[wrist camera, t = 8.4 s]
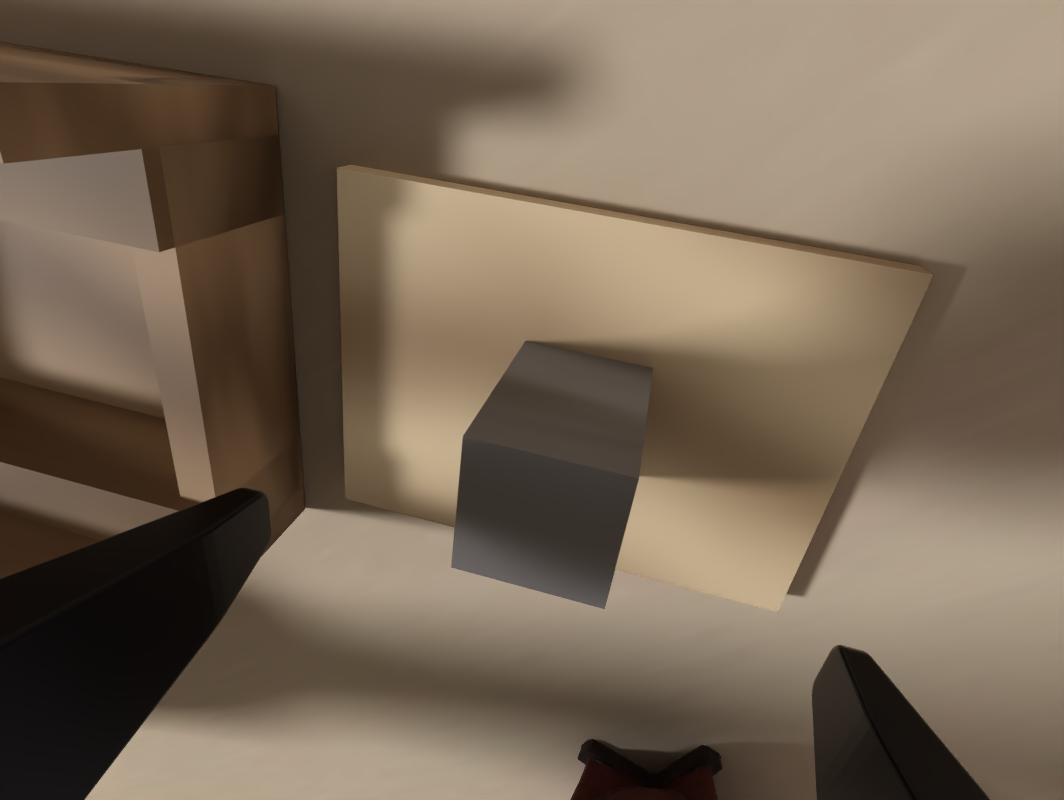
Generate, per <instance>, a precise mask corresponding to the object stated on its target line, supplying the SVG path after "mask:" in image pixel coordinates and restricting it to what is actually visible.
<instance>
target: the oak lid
mask: <svg viewBox="0 0 1064 800" xmlns="http://www.w3.org/2000/svg"><path fill="white" fill-rule="evenodd" d="M337 201H338V240H339V279H340V318H341V357H342V396H343V436H344V475H345V499H349V500H352V501H356V502H360V503H364V504H368V505H371V506H375V507H379V508H383V509H387V510H390V511H394V512H398V513H402V514H406V515H410V516H413V517H417V518H421V519H425V520H429V521H432V522H436V523H440V524H444V525H448V526H452V527H455V531H454V542H453V554H452V565H451V567H452V568H456V569H459V570H463V571H467V572H471V573H474V574H478V575H482V576H485V577H489V578H493V579H496V580H500V581H504V582H507V583H511V584H515V585H518V586H522V587H526V588H529V589H533V590H537V591H540V592H544V593H548V594H551V595H555V596H559V597H562V598H566V599H570V600H573V601H577V602H581V603H584V604H588V605H592V606H595V607H599V608H603V609H605V605H606V601H607V598H608V594H609V590H610V586H611V583H612V579H613V575H614V571H615V569H616V570H619V571H623V572H627V573H631V574H635V575H638V576H642V577H646V578H650V579H654V580H658V581H661V582H665V583H669V584H673V585H677V586H680V587H684V588H688V589H692V590H696V591H700V592H703V593H707V594H711V595H715V596H719V597H722V598H726V599H730V600H734V601H738V602H741V603H745V604H749V605H753V606H757V607H761V608H764V609H768V610H772V611H776V612H778V611H779V608H780V606H781V604H782V602H783V600H784V598H785V595H786V593H787V591H788V589H789V587H790V585H791V582H792V580H793V578H794V576H795V574H796V572H797V570H798V567H799V565H800V563H801V561H802V559H803V557H804V554H805V552H806V550H807V548H808V546H809V544H810V541H811V539H812V537H813V535H814V533H815V531H816V528H817V526H818V524H819V522H820V520H821V518H822V515H823V513H824V511H825V509H826V507H827V505H828V503H829V500H830V498H831V496H832V494H833V492H834V490H835V487H836V485H837V483H838V481H839V479H840V477H841V474H842V472H843V470H844V468H845V466H846V464H847V461H848V459H849V457H850V455H851V453H852V451H853V449H854V446H855V444H856V442H857V440H858V438H859V436H860V433H861V431H862V429H863V427H864V425H865V423H866V420H867V418H868V416H869V414H870V412H871V410H872V407H873V405H874V403H875V401H876V399H877V397H878V394H879V392H880V390H881V388H882V386H883V384H884V382H885V379H886V377H887V375H888V373H889V371H890V369H891V366H892V364H893V362H894V360H895V358H896V356H897V353H898V351H899V349H900V347H901V345H902V343H903V340H904V338H905V336H906V334H907V332H908V330H909V327H910V325H911V323H912V321H913V319H914V317H915V315H916V312H917V310H918V308H919V306H920V304H921V302H922V299H923V297H924V295H925V293H926V291H927V289H928V286H929V284H930V282H931V280H932V278H933V276H934V275H933V274H932V273H931V272H929V271H928V270H927V269H925V268H924V267H922V266H919V265H913V264H908V263H902V262H896V261H891V260H885V259H880V258H874V257H868V256H863V255H857V254H851V253H846V252H840V251H835V250H829V249H823V248H818V247H812V246H806V245H801V244H795V243H790V242H784V241H778V240H773V239H767V238H761V237H756V236H750V235H745V234H739V233H733V232H728V231H722V230H717V229H711V228H705V227H700V226H694V225H688V224H683V223H677V222H672V221H666V220H660V219H655V218H649V217H643V216H638V215H632V214H627V213H621V212H615V211H610V210H604V209H598V208H593V207H587V206H582V205H576V204H570V203H565V202H559V201H553V200H548V199H542V198H537V197H531V196H525V195H520V194H514V193H508V192H503V191H497V190H492V189H486V188H480V187H475V186H469V185H464V184H458V183H452V182H447V181H441V180H435V179H430V178H424V177H419V176H413V175H407V174H402V173H396V172H390V171H385V170H379V169H374V168H368V167H362V166H357V165H347V166H342V167H338V168H337Z"/></svg>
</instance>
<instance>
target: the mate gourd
mask: <svg viewBox="0 0 1064 800" xmlns="http://www.w3.org/2000/svg"><path fill="white" fill-rule="evenodd" d="M578 760H580V761H581V762H583V763H584V764H586V766H585V769H584V772H583V774H582V776H581V779H580V781H579V783H578V785H577V787H576V789H575V791H574V793H573V795H572V798H571V800H718V799H717V795H716V791H715V787H714V782H713V777H712V776H713V775H715V774H716V773H717V772H719V771H720V770H721V769H722V764H721V756H720V755H719V753H717V752H716V751H714V750H712V749H711V748H709V747H707V746H703V745H702V746H700V747H699V748H697V749H695V750H693V751H692V752H690V753H689V754H687V755H686V756H684V757H683V758H681V759H680V760H678V761H677V762H675V763H674V764H672V765H671V766H669V767H668V768H666V769H664V770H663V771H661V772H659V773H657V774H652V773H649V772H647V771H646V770H644V769H642V768H640V767H639V766H637V765H635V764H634V763H632V762H630V761H629V760H627V759H625V758H624V757H622V756H620V755H619V754H617V753H616V752H614V751H612V750H611V749H609V748H607V747H606V746H604V745H602V744H600V743H599V742H597V741H595V740H593V739H592V740H588V741H586V742H585V743H584V744H583V745H582V746H581V750H580V753H579V755H578Z"/></svg>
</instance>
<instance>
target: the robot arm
mask: <svg viewBox="0 0 1064 800" xmlns="http://www.w3.org/2000/svg"><path fill="white" fill-rule="evenodd" d="M271 534H272V526H271V517H270V507H269V499H268V497H267V495H266V494H265V493H263V492H260V491H257V490H253V489H249V488H238V489H235V490H233V491H230V492H227V493H225V494H222V495H219V496H217V497H214V498H211V499H209V500H206V501H204V502H201V503H198V504H196V505H193V506H190V507H188V508H185V509H183V510H180V511H177V512H175V513H172V514H169V515H167V516H164V517H162V518H159V519H156V520H154V521H151V522H148V523H146V524H143V525H140V526H138V527H135V528H133V529H130V530H127V531H125V532H122V533H119V534H117V535H114V536H112V537H109V538H106V539H104V540H101V541H98V542H96V543H93V544H90V545H88V546H85V547H83V548H80V549H77V550H75V551H72V552H69V553H67V554H64V555H61V556H59V557H56V558H54V559H51V560H48V561H46V562H43V563H40V564H38V565H35V566H32V567H30V568H27V569H25V570H22V571H19V572H17V573H14V574H11V575H9V576H6V577H3V578H1V579H0V800H85V798H86V797H87V796H88V794H89V793H90V792H91V790H92V789H93V788H94V786H95V785H96V784H97V783H98V781H99V780H100V779H101V777H102V776H103V775H104V773H105V772H106V771H107V770H108V768H109V767H110V766H111V764H112V763H113V762H114V760H115V759H116V758H117V756H118V755H119V754H120V753H121V751H122V750H123V749H124V747H125V746H126V745H127V743H128V742H129V741H130V740H131V738H132V737H133V736H134V734H135V733H136V732H137V730H138V729H139V728H140V727H141V725H142V724H143V723H144V721H145V720H146V719H147V717H148V716H149V715H150V713H151V712H152V711H153V710H154V708H155V707H156V706H157V704H158V703H159V702H160V700H161V699H162V698H163V697H164V695H165V694H166V693H167V691H168V690H169V689H170V687H171V686H172V685H173V684H174V682H175V681H176V680H177V678H178V677H179V676H180V674H181V673H182V672H183V670H184V669H185V668H186V667H187V665H188V664H189V663H190V661H191V660H192V659H193V657H194V656H195V655H196V654H197V652H198V651H199V650H200V648H201V647H202V646H203V644H204V643H205V642H206V641H207V639H208V638H209V637H210V635H211V634H212V632H213V631H214V630H215V628H216V627H217V626H218V624H219V623H220V621H221V620H222V618H223V617H224V615H225V614H226V612H227V611H228V609H229V607H230V606H231V604H232V602H233V601H234V599H235V598H236V596H237V594H238V593H239V591H240V590H241V588H242V586H243V585H244V583H245V581H246V580H247V578H248V577H249V575H250V573H251V572H252V570H253V569H254V567H255V565H256V564H257V562H258V561H259V559H260V557H261V556H262V554H263V552H264V551H265V549H266V548H267V546H268V544H269V542H270V539H271ZM812 708H813V729H814V750H815V771H816V790H817V800H990V799H989V797H988V796H987V795H986V794H985V793H984V791H983V790H982V789H981V788H980V787H979V785H978V784H977V783H976V782H975V781H974V779H973V778H972V777H971V776H970V775H969V773H968V772H967V771H966V770H965V769H964V767H963V766H962V765H961V764H960V763H959V761H958V760H957V759H956V758H955V757H954V755H953V754H952V753H951V752H950V751H949V749H948V748H947V747H946V746H945V745H944V743H943V742H942V741H941V740H940V739H939V737H938V736H937V735H936V734H935V733H934V731H933V730H932V729H931V728H930V727H929V725H928V724H927V723H926V722H925V721H924V719H923V718H922V717H921V716H920V715H919V713H918V712H917V711H916V710H915V709H914V707H913V706H912V705H911V704H910V703H909V701H908V700H907V699H906V698H905V697H904V695H903V694H902V693H901V692H900V691H899V689H898V688H897V687H896V686H895V685H894V683H893V682H892V681H891V680H890V679H889V677H888V676H887V675H886V674H885V673H884V671H883V670H882V669H881V668H880V667H879V665H878V664H877V663H876V662H875V661H874V659H873V658H872V657H871V656H870V655H869V654H867V653H866V652H864V651H861V650H857V649H854V648H850V647H846V646H842V645H837V646H835V647H834V648H833V649H832V650H831V651H830V653H829V655H828V657H827V659H826V661H825V662H824V664H823V666H822V668H821V670H820V672H819V673H818V675H817V677H816V679H815V681H814V685H813V690H812Z"/></svg>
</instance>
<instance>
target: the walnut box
mask: <svg viewBox="0 0 1064 800" xmlns="http://www.w3.org/2000/svg"><path fill="white" fill-rule="evenodd" d="M238 488H249V489H253V490H257V491H260V492H263V493H265V494H266V495H267V497H268V499H269V507H270V517H271V526H272V534H271V539H270V542H269V544H268V546H267V548H266V549H265V551H264V552H263V554H264V553H265V552H266V551H267V550H268V549H269V548H270V547H271V545H272V544H273V543H274V542H275V541H276V540H277V539H278V538H279V537H280V536H281V535H282V533H283V532H284V531H285V530H286V529H287V528H288V527H289V526H290V525H291V524H292V523H293V521H294V520H295V519H296V518H297V517H298V516H299V515H300V514H301V513H302V512H303V511H304V509H305V500H304V486H303V472H302V458H301V444H300V430H299V416H298V401H297V387H296V373H295V359H294V345H293V331H292V316H291V302H290V288H289V274H288V260H287V246H286V231H285V217H284V203H283V189H282V175H281V161H280V146H279V132H278V118H277V104H276V90H275V86H273V85H266V84H260V83H254V82H247V81H241V80H235V79H229V78H222V77H216V76H210V75H203V74H197V73H191V72H184V71H178V70H172V69H166V68H159V67H153V66H147V65H140V64H134V63H128V62H122V61H115V60H109V59H103V58H96V57H90V56H84V55H78V54H71V53H65V52H59V51H52V50H46V49H40V48H34V47H27V46H21V45H15V44H8V43H2V42H0V579H1V578H3V577H6V576H9V575H11V574H14V573H17V572H19V571H22V570H25V569H27V568H30V567H32V566H35V565H38V564H40V563H43V562H46V561H48V560H51V559H54V558H56V557H59V556H61V555H64V554H67V553H69V552H72V551H75V550H77V549H80V548H83V547H85V546H88V545H90V544H93V543H96V542H98V541H101V540H104V539H106V538H109V537H112V536H114V535H117V534H119V533H122V532H125V531H127V530H130V529H133V528H135V527H138V526H140V525H143V524H146V523H148V522H151V521H154V520H156V519H159V518H162V517H164V516H167V515H169V514H172V513H175V512H177V511H180V510H183V509H185V508H188V507H190V506H193V505H196V504H198V503H201V502H204V501H206V500H209V499H211V498H214V497H217V496H219V495H222V494H225V493H227V492H230V491H233V490H235V489H238ZM263 554H262V555H263Z"/></svg>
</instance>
